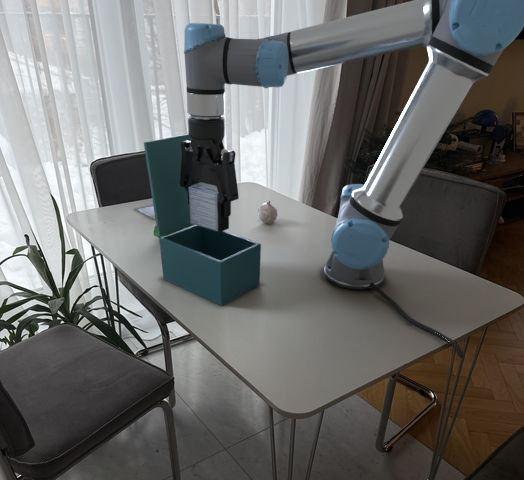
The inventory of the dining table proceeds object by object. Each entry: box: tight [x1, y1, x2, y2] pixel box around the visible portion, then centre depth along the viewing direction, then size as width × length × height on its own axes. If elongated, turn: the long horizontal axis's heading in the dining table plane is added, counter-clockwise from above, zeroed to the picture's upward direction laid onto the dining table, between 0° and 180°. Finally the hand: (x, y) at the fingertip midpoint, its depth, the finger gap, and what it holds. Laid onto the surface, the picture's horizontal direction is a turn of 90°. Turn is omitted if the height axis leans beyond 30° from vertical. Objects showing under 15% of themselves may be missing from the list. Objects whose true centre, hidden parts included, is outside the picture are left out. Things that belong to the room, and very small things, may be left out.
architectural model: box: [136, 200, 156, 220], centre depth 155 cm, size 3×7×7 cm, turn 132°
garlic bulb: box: [257, 200, 278, 225], centre depth 149 cm, size 7×6×8 cm
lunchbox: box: [158, 225, 262, 307], centre depth 114 cm, size 20×14×11 cm
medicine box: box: [189, 181, 226, 231], centre depth 106 cm, size 8×4×9 cm, turn 58°
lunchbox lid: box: [143, 133, 192, 236], centre depth 110 cm, size 20×14×1 cm
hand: (209, 224), depth 109 cm, fingers closed on medicine box, 8 cm apart
